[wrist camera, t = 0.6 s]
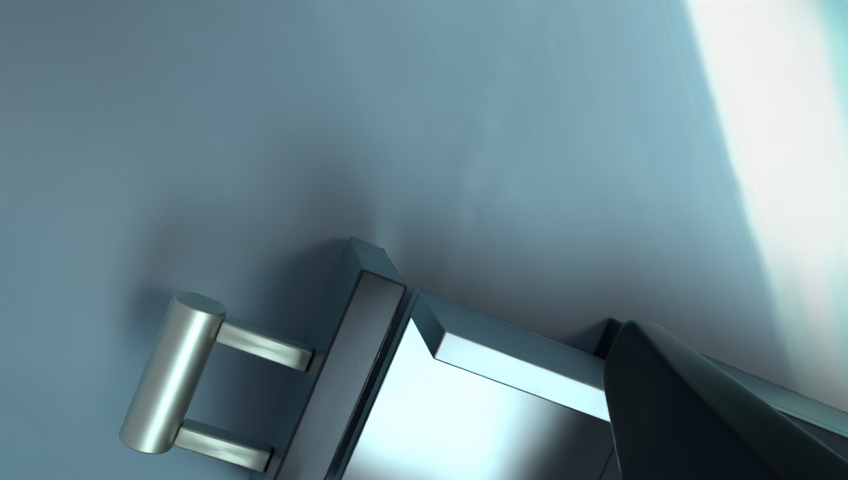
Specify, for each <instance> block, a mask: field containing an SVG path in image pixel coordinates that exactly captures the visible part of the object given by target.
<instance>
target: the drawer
mask: <svg viewBox="0 0 848 480" xmlns="http://www.w3.org/2000/svg"><path fill="white" fill-rule="evenodd" d="M406 289H407V286H406V284H405V283H404V281H403V279H402V278H401V276H400V275H399V273H398V271H397V270H396V268H395V266H394V265H393V263H392V262H391V260H390V258H389V257H388V255H387V254H386V252H385V250H384V249H383V248H380V247H378V246H375V245H373V244H370V243H368V242H365V241H363V240H360V239H357V238H355V237H352V236H350V237H349V238H348V241H347V243H346V245H345V248H344V250H343V253H342V255H341V258H340V260H339V262H338V265H337V267H336V270H335V272H334V274H333V277H332V279H331V282H330V284H329V287H328V289H327V291H326V294H325V296H324V299H323V301H322V303H321V306H320V308H319V311H318V313H317V315H316V318H315V320H314V323H313V325H312V328H311V330H310V332H309V335H308V337H307V340H306V342H305V344H303V343H300V342H297V341H295V340H292V339H289V338H286V337H283V336H280V335H278V334H275V333H272V332H269V331H266V330H263V329H261V328H258V327H255V326H252V325H249V324H246V323H244V322H241V321H238V320H235V319H232V318H229V317H226V318H225V315H226V313H227V311H226V308H225V307H224V306H223V305H221V304H220V303H219V302H217V301H215V300H213V299H211V298H208V297H206V296H203V295H200V294H196V293H191V292H176V293H174V294H173V297H172V299H171V302H170V304H169V307H168V309H167V312H166V314H165V317H164V319H163V322H162V324H161V327H160V330H159V332H158V335H157V337H156V340H155V342H154V345H153V347H152V350H151V352H150V355H149V357H148V360H147V362H146V365H145V368H144V370H143V373H142V375H141V378H140V380H139V383H138V385H137V388H136V390H135V393H134V395H133V398H132V401H131V403H130V406H129V408H128V411H127V413H126V416H125V418H124V421H123V423H122V426H121V428H120V431H119V438H120V440H121V441H122V443H124V444H125V445H126V446H127V447H129V448H131V449H133V450H135V451H138V452H142V453H147V454H162V453H165V452H168V451H169V450H170V449H171V448H172V447H173V445H174V446H176V447H179V448H183V449H186V450H189V451H193V452H196V453H199V454H202V455H206V456H209V457H212V458H215V459H219V460H222V461H225V462H229V463H232V464H235V465H238V466H242V467H245V468H248V469H251V470H252V472H251V475H250V477H249V480H326V478H327V475H328V473H329V471H330V468H331V466H332V464H333V461H334V459H335V457H336V454H337V452H338V449H339V447H340V445H341V442H342V440H343V438H344V435H345V433H346V431H347V428H348V426H349V424H350V421H351V419H352V417H353V414H354V412H355V409H356V407H357V405H358V402H359V400H360V398H361V395H362V393H363V391H364V388H365V386H366V384H367V381H368V379H369V376H370V374H371V372H372V369H373V367H374V365H375V362H376V360H377V358H378V355H379V353H380V351H381V348H382V346H383V343H384V341H385V339H386V336H387V334H388V332H389V329H390V327H391V325H392V322H393V320H394V318H395V315H396V313H397V311H398V308H399V306H400V303H401V301H402V299H403V296H404V294H405V292H406ZM224 318H225V319H224ZM215 340H216V342H217V343H220V344H223V345H225V346H228V347H231V348H234V349H237V350H240V351H243V352H246V353H249V354H252V355H255V356H258V357H260V358H263V359H266V360H269V361H272V362H275V363H278V364H281V365H284V366H287V367H290V368H292V369H294V371H293V373H292V376H291V378H290V381H289V383H288V386H287V388H286V390H285V393H284V395H283V398H282V400H281V402H280V405H279V407H278V410H277V412H276V414H275V417H274V419H273V422H272V424H271V427H270V429H269V431H268V434H267V436H266V439H265V441H264V442H260V441H257V440H254V439H251V438H248V437H245V436H241V435H238V434H235V433H232V432H229V431H226V430H222V429H219V428H216V427H213V426H210V425H207V424H203V423H200V422H197V421H194V420H191V419H188V418H185V419H184V417H185V415H186V412H187V410H188V407H189V405H190V402H191V400H192V397H193V395H194V392H195V390H196V387H197V385H198V382H199V380H200V377H201V375H202V372H203V370H204V368H205V365H206V363H207V360H208V358H209V355H210V353H211V350H212V348H213V345H214V343H215ZM604 363H605V360H604V359H601V358H599V357H596V356H594V355H591V354H588V353H586V352H583V351H581V350H578V349H576V348H573V347H570V346H568V345H565V344H563V343H560V342H557V341H555V340H552V339H550V338H547V337H545V336H542V335H539V334H537V333H534V332H532V331H529V330H526V329H524V328H521V327H519V326H516V325H514V324H511V323H508V322H506V321H503V320H501V319H498V318H495V317H493V316H490V315H488V314H485V313H483V312H480V311H477V310H475V309H472V308H470V307H467V306H464V305H462V304H459V303H457V302H454V301H451V300H449V299H446V298H444V297H441V296H439V295H436V294H433V293H431V292H428V291H426V290H423V289H420V288H416V289H415V290H414V292H413V295H412V297H411V299H410V302H409V304H408V306H407V309H406V311H405V313H404V316H403V318H402V320H401V323H400V325H399V328H398V330H397V332H396V335H395V337H394V339H393V342H392V344H391V346H390V349H389V351H388V353H387V356H386V358H385V360H384V363H383V365H382V367H381V370H380V372H379V375H378V377H377V379H376V382H375V384H374V386H373V389H372V391H371V393H370V396H369V398H368V400H367V403H366V405H365V407H364V410H363V412H362V414H361V417H360V419H359V421H358V424H357V426H356V429H355V431H354V433H353V436H352V438H351V440H350V443H349V445H348V447H347V450H346V452H345V454H344V457H343V459H342V461H341V464H340V466H339V468H338V471H337V473H336V476H335V478H334V480H622V477H621V473H620V469H619V464H618V459H617V454H616V449H615V444H614V439H613V434H612V428H611V423H610V418H609V413H608V408H607V403H606V398H605V393H604V388H603V382H602V370H603V366H604Z"/></svg>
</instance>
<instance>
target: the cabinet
mask: <svg viewBox="0 0 848 480" xmlns="http://www.w3.org/2000/svg"><path fill="white" fill-rule="evenodd" d="M623 324H624V323H623V322H621V321H618V320H616V319H613V318H610V319H609V321H608V324H607V326H606V328H605V330H604V332H603V335H602V337H601V339H600V341H599V343H598V346H597V348H596V350H595V352H594V356H596V357H599V358H601V359H604V360H606V358H607V356H608V354H609V352H610V349H611V347H612V345H613V343H614V341H615V339H616V337H617V334H618V332H619V330H620V328H621V326H622V325H623ZM699 354H700V353H699ZM700 355H702V356H703V357H705V358H706V359H707V360H709V361H710V362H711V363H713V364H714V365H716V366H717V367H718V368H720V369H721V370H722V371H724V372H725V373H727V374H728V375H729V376H731V377H732V378H733V379H735V380H736V381H738V382H739V383H740V384H742V385H743V386H745V387H746V388H747V389H749V390H750V391H751V392H753V393H754V394H756V395H757V396H758V397H760V398H761V399H762V400H764V401H765V402H767V403H768V404H769V405H771V406H772V407H773V408H775V409H776V410H778V411H779V412H780V413H782V414H783V415H785V416H786V417H787V418H789V419H790V420H791V421H793V422H794V423H796V424H797V425H798V426H800V427H801V428H802V429H804V430H805V431H807V432H808V433H809V434H811V435H812V436H813V437H815V438H816V439H818V440H819V441H820V442H822V443H823V444H824V445H826V446H827V447H829V448H830V449H831V450H833V451H834V452H836V453H837V454H838V455H840V456H841V457H842V458H844V459H845V460H847V461H848V413H846V412H844V411H841V410H839V409H836V408H834V407H831V406H829V405H826V404H824V403H822V402H819V401H817V400H814V399H812V398H809V397H807V396H804V395H802V394H799V393H797V392H794V391H792V390H789V389H787V388H784V387H782V386H779V385H777V384H774V383H772V382H770V381H767V380H765V379H762V378H760V377H757V376H755V375H752V374H750V373H747V372H745V371H742V370H740V369H737V368H735V367H732V366H730V365H727V364H725V363H722V362H720V361H718V360H715V359H713V358H710V357H708V356H705V355H703V354H700Z"/></svg>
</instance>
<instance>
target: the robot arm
mask: <svg viewBox="0 0 848 480" xmlns="http://www.w3.org/2000/svg"><path fill="white" fill-rule="evenodd" d="M602 382H603V388H604V393H605V398H606V403H607V408H608V413H609V418H610V423H611V428H612V434H613V439H614V444H615V449H616V454H617V459H618V464H619V469H620V473H621V477H622V480H848V461H847V460H845V459H844V458H842V457H841V456H840V455H838V454H837V453H836V452H834V451H833V450H831V449H830V448H829V447H827V446H826V445H824V444H823V443H822V442H820V441H819V440H818V439H816V438H815V437H813V436H812V435H811V434H809V433H808V432H807V431H805V430H804V429H802V428H801V427H800V426H798V425H797V424H796V423H794V422H793V421H791V420H790V419H789V418H787V417H786V416H785V415H783V414H782V413H780V412H779V411H778V410H776V409H775V408H773V407H772V406H771V405H769V404H768V403H767V402H765V401H764V400H762V399H761V398H760V397H758V396H757V395H756V394H754V393H753V392H751V391H750V390H749V389H747V388H746V387H745V386H743V385H742V384H740V383H739V382H738V381H736V380H735V379H733V378H732V377H731V376H729V375H728V374H727V373H725V372H724V371H722V370H721V369H720V368H718V367H717V366H716V365H714V364H713V363H711V362H710V361H709V360H707V359H706V358H705V357H703V356H702V355H700V354H699V353H698V352H696V351H695V350H694V349H692V348H691V347H689V346H688V345H687V344H685V343H684V342H682V341H681V340H680V339H678V338H677V337H676V336H674V335H673V334H671V333H670V332H669V331H667V330H666V329H665V328H663V327H662V326H660V325H659V324H657V323H654V322H646V321H637V320H629V321H627V322H625V323H624V324H623V325H622V326H621V328H620V330H619V332H618V334H617V337H616V339H615V341H614V343H613V345H612V347H611V349H610V352H609V354H608V356H607V358H606V360H605V363H604V366H603V370H602Z"/></svg>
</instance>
